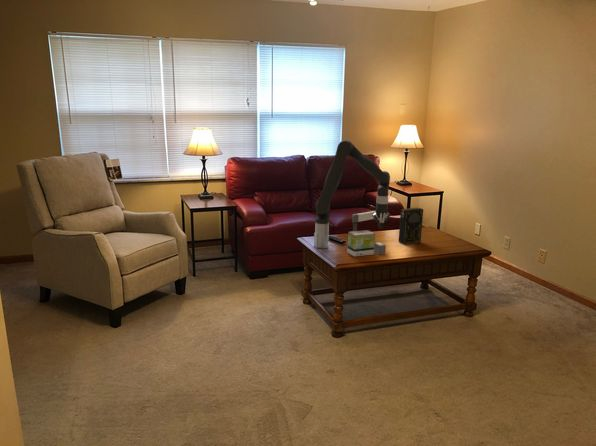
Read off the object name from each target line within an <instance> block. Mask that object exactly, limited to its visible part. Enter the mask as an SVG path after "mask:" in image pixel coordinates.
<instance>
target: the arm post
mask: <svg viewBox="0 0 596 446" xmlns="http://www.w3.org/2000/svg"><path fill="white" fill-rule="evenodd" d="M357 229H358V222H357V223H354V222H352V231H358V230H357Z"/></svg>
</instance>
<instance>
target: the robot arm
mask: <svg viewBox="0 0 596 446" xmlns="http://www.w3.org/2000/svg"><path fill="white" fill-rule="evenodd" d="M348 157H350V158H351V159H353V160H355V161H356V162H357V163H358V164H359V166H360V167H361V168H362V169H364V170H365V171H366V172H367V173H369V174H370V175H371V176H372V177H373V178H374V179H375V180H376V181H377V182H378V187H377V190H376V191H377V193H376V199H375V200H376V201H375V202H376V203H375V211H376V212H375V214H372V216H373V218H374V219H373V220H375V222H377V227H378V229H383V227H384V223H385V222H387V221H388V220H389V218H390V217H391V214H390V212H388V208H389V207H388V206H389V186H390V183H391V175H390V173H389V172H388V171H386V170H385V171H384V170H382V169H380V167H379V166H378V164H376V163H375V162H374V161H373V160H371V159H370V158H369V157H367V156H366V155H365V154H363V153H362V152H361V151H360V150H359V149H358V148H357V147H356V146H355V145H354V144H353V143H352V141H350V140H347V139H345V140H340V142H339V143H338V144H337V147H336V151H335V155H334V158H333V161H332V163H331V165H330V168H329V170H328V172H327V175H326V178H325V179H324V180H325V181H324V183H323V188H322V191H321V194H320V196H319V199H318V201H317V202H316V203H315V225H314V228H315V229H314V231H315V232H314V233H313V247H315V249H327V248H329V237H330V236H329V234H330V232H329V231H330V230H329V228H330V213H331V212H330V211H331V202H332V198H333V196H334V194H335V192H336V190H337V188H338V186H339V185H340V183H341V179H342V177H343V173H344V167H345V162H346V160H347V158H348Z"/></svg>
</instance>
